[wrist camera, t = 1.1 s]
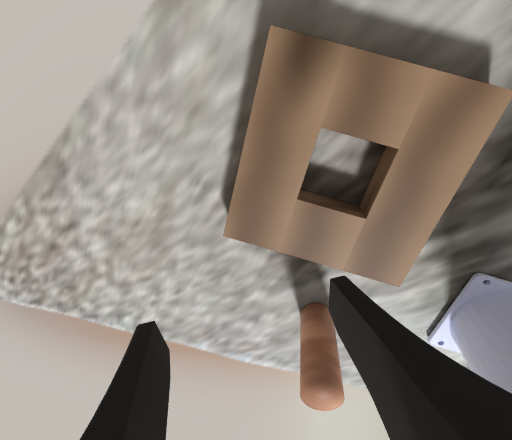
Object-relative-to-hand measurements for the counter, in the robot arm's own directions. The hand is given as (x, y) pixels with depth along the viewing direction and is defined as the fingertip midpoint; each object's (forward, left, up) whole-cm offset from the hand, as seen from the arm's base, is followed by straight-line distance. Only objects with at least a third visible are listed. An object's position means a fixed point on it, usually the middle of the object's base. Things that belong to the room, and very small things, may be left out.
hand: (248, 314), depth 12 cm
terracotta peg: (-7, +10, -13) cm, 17 cm away
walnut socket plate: (-4, -4, -13) cm, 14 cm away
